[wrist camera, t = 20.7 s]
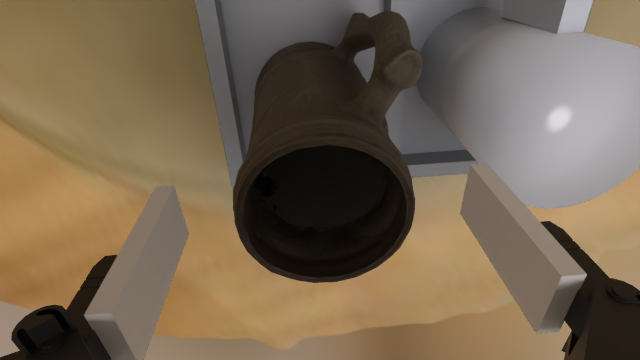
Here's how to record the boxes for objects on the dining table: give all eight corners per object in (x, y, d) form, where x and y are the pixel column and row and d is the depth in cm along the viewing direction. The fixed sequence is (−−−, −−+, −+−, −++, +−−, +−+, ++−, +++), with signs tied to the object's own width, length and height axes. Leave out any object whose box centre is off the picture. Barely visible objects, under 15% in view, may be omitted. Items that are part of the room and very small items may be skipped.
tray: (237, 172, 41) (232, 190, 38) (195, -50, 30) (184, -50, 27) (522, 152, 42) (541, 168, 39) (583, -69, 31) (616, -72, 28)
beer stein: (340, 164, 40) (386, 306, 22) (242, 139, 38) (206, 274, 20) (396, 17, 34) (522, 52, 16) (282, -24, 31) (280, -38, 14)
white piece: (411, 120, 38) (478, 214, 24) (424, -21, 31) (526, -2, 18) (510, 114, 38) (631, 202, 25) (544, -28, 32) (736, -14, 18)
